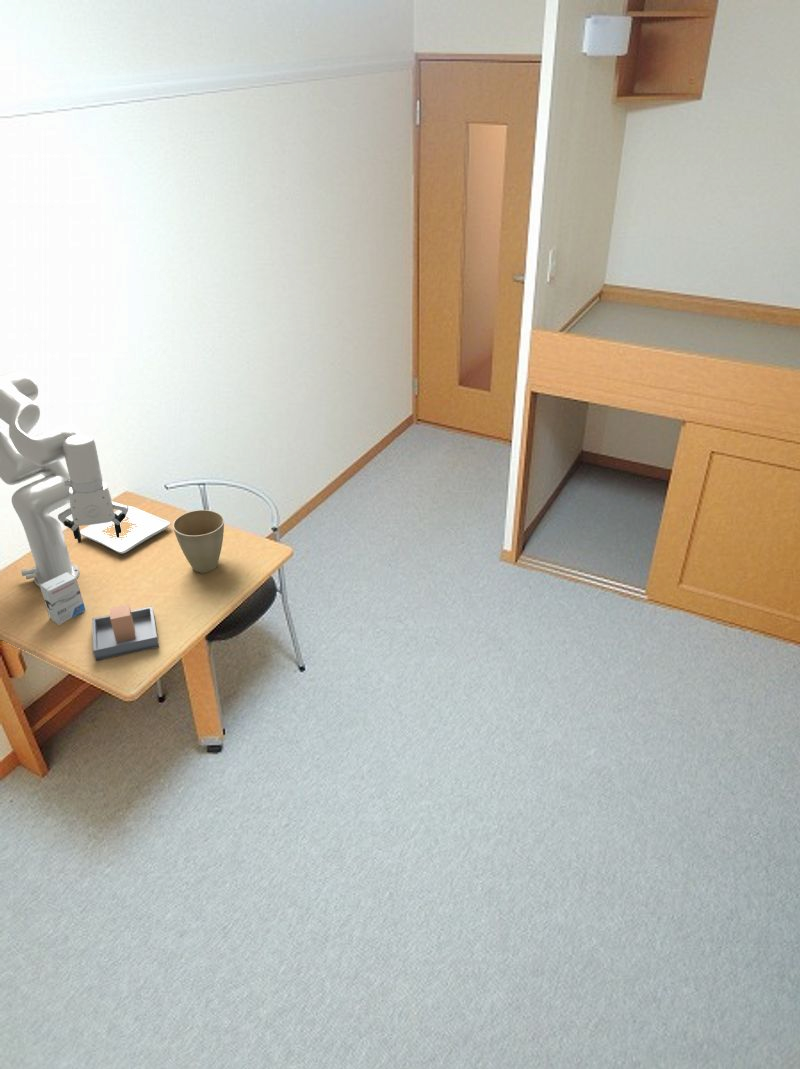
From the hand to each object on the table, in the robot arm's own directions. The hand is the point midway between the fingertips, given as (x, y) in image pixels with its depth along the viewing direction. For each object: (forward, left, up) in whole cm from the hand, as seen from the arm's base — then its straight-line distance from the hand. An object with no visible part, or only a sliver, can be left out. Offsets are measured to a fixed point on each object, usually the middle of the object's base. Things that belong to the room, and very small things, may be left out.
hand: (99, 537), depth 201 cm
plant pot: (+27, +14, -25) cm, 39 cm away
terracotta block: (+2, -13, -24) cm, 27 cm away
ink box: (-13, +3, -25) cm, 28 cm away
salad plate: (+5, +41, -25) cm, 48 cm away
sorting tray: (+2, -13, -25) cm, 28 cm away
